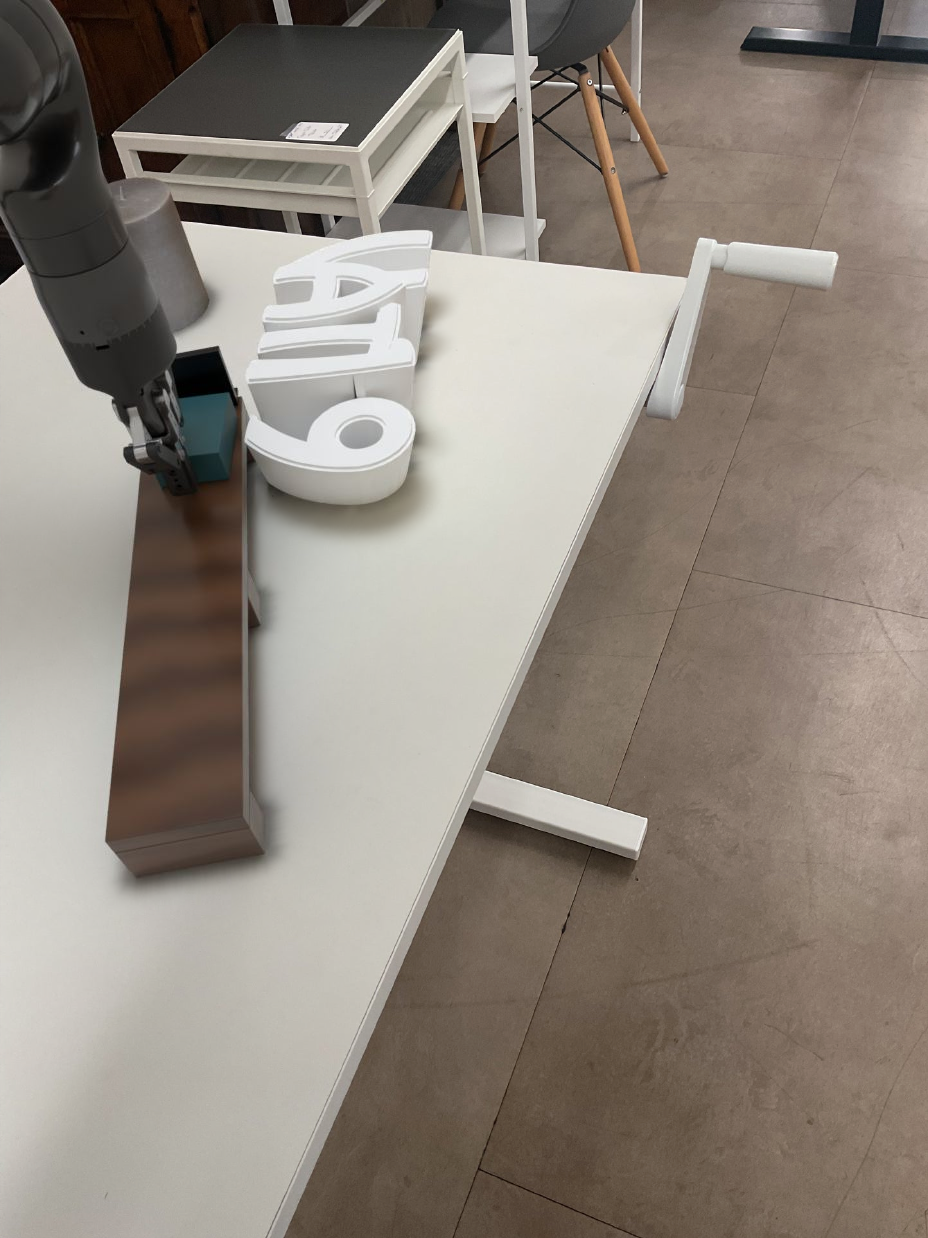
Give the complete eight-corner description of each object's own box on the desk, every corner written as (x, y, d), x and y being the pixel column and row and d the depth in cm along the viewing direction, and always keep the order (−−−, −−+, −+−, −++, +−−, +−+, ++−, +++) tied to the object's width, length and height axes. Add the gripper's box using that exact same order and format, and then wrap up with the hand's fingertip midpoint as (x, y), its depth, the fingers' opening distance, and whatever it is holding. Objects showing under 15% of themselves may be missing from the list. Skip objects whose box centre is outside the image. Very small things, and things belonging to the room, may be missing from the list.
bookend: (238, 405, 92) (218, 350, 87) (147, 422, 92) (123, 368, 87) (238, 390, 93) (219, 335, 89) (149, 407, 93) (125, 353, 89)
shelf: (267, 858, 69) (242, 816, 64) (138, 882, 69) (104, 842, 64) (259, 445, 97) (241, 395, 93) (167, 462, 97) (145, 413, 93)
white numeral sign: (311, 308, 111) (287, 218, 103) (458, 300, 109) (446, 208, 101) (239, 538, 89) (202, 448, 81) (422, 535, 87) (402, 442, 79)
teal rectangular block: (229, 479, 85) (218, 452, 83) (160, 487, 86) (148, 461, 84) (238, 418, 91) (228, 391, 88) (173, 426, 91) (162, 400, 89)
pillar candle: (161, 284, 118) (112, 159, 107) (228, 298, 115) (184, 170, 103) (108, 332, 113) (51, 205, 101) (176, 348, 109) (125, 218, 98)
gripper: (63, 267, 75) (147, 446, 88) (37, 373, 66) (135, 554, 79) (162, 249, 75) (232, 431, 88) (149, 352, 66) (229, 537, 79)
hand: (186, 489), depth 84 cm, fingers closed
